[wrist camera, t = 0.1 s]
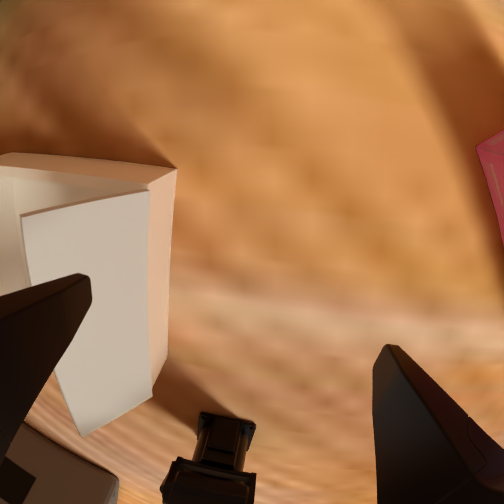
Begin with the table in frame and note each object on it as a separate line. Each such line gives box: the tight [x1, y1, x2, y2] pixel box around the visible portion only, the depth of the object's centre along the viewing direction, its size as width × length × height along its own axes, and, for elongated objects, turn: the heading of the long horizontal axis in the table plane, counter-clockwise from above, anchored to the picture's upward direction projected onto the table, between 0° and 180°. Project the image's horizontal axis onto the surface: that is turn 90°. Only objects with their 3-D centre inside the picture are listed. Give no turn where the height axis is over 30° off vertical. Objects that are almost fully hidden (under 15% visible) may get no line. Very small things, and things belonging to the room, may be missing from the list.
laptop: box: [0, 422, 119, 504], centre depth 39 cm, size 38×29×29 cm
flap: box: [19, 189, 153, 438], centre depth 18 cm, size 8×18×1 cm
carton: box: [0, 152, 177, 387], centre depth 24 cm, size 18×18×5 cm
